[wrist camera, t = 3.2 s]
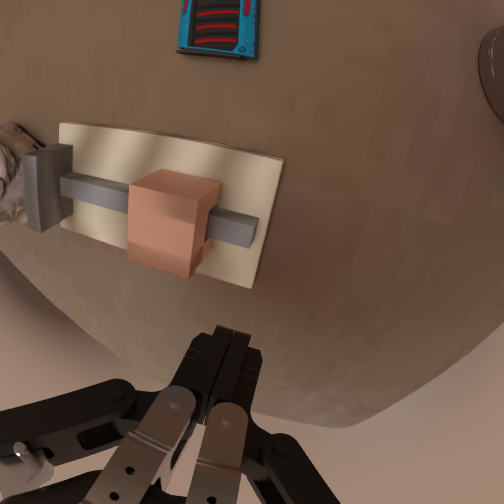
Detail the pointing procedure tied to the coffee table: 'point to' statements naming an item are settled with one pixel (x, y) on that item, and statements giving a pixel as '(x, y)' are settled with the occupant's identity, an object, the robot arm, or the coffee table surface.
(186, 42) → the handgun
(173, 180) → the slider block
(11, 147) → the rock
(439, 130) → the coffee table surface
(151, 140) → the rail board
